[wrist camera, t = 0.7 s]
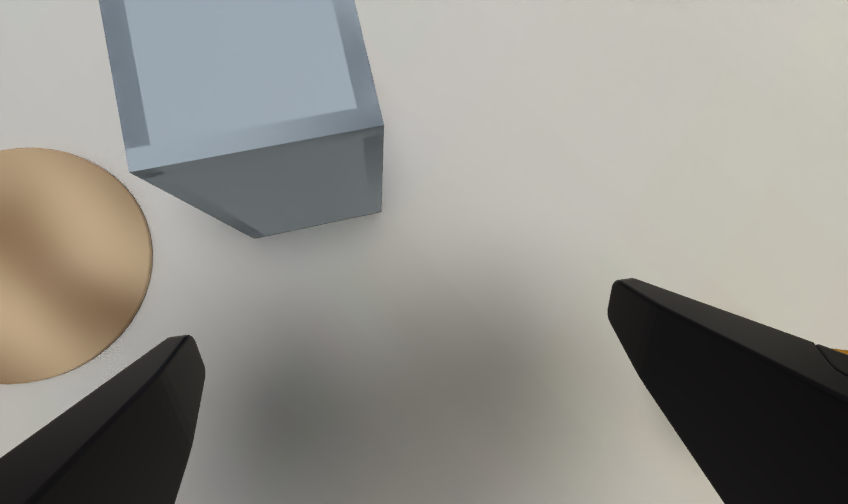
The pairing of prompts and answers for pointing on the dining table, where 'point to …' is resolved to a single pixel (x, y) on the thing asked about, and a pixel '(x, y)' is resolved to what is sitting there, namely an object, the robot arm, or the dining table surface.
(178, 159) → the blue-grey open box
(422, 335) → the dining table surface
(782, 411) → the robot arm
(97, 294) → the coaster
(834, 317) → the dining table surface
